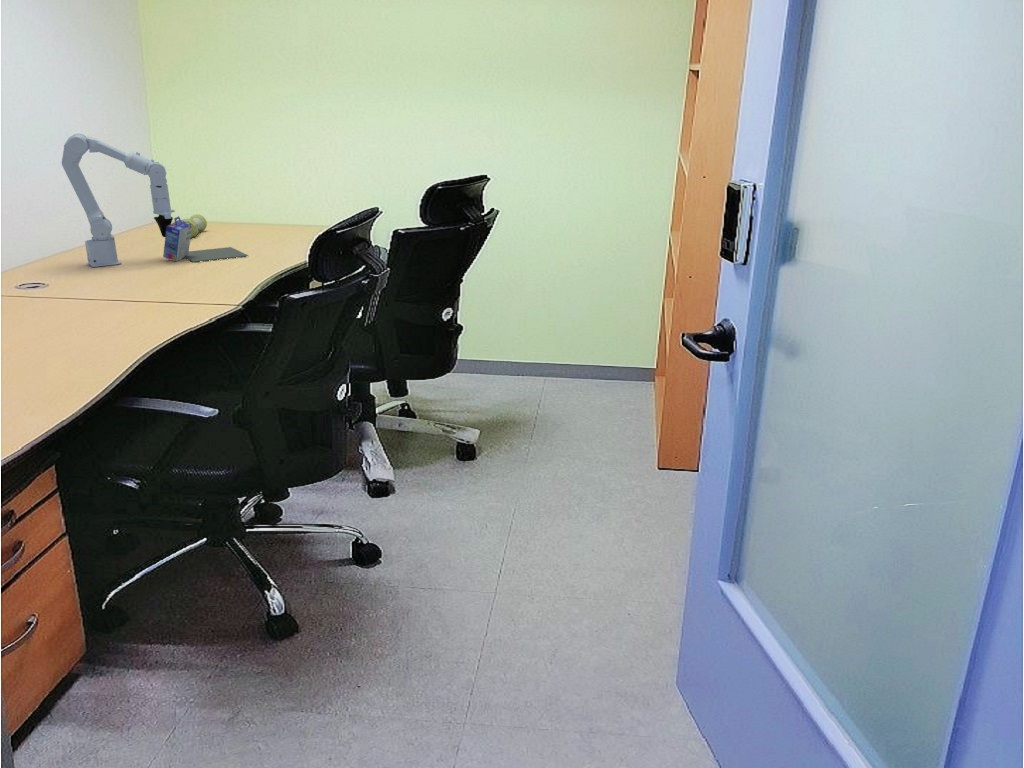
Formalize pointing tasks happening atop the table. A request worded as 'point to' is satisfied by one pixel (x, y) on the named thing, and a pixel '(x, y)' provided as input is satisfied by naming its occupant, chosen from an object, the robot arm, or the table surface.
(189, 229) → the ink cartridge box
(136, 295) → the table surface
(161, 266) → the table surface
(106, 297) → the table surface
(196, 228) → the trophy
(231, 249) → the desk mat
